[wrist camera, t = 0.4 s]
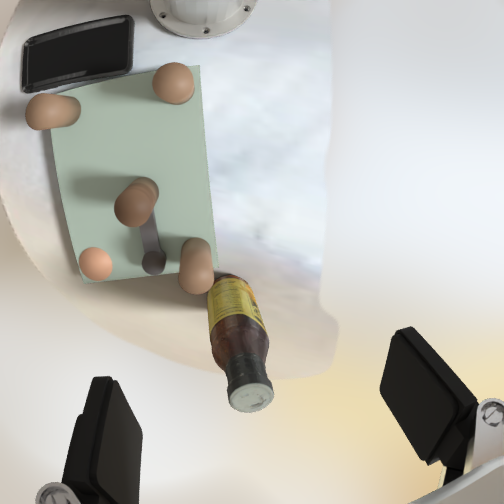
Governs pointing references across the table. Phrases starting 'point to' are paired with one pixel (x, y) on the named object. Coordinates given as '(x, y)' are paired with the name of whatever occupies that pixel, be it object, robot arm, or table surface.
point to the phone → (78, 53)
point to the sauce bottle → (239, 343)
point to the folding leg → (142, 220)
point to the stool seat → (133, 171)
